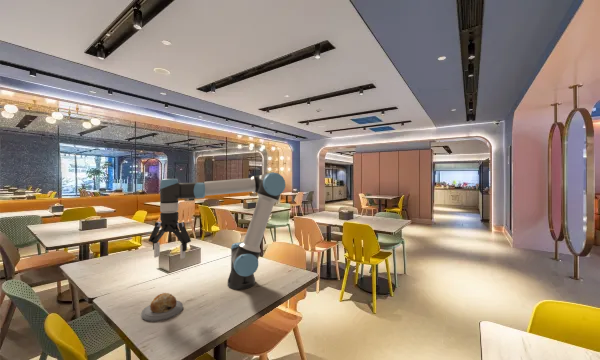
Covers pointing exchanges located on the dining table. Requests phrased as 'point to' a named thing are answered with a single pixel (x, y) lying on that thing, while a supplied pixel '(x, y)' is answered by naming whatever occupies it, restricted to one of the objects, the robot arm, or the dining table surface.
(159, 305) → the bread roll
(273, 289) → the dining table surface
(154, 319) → the plate
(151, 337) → the dining table surface
